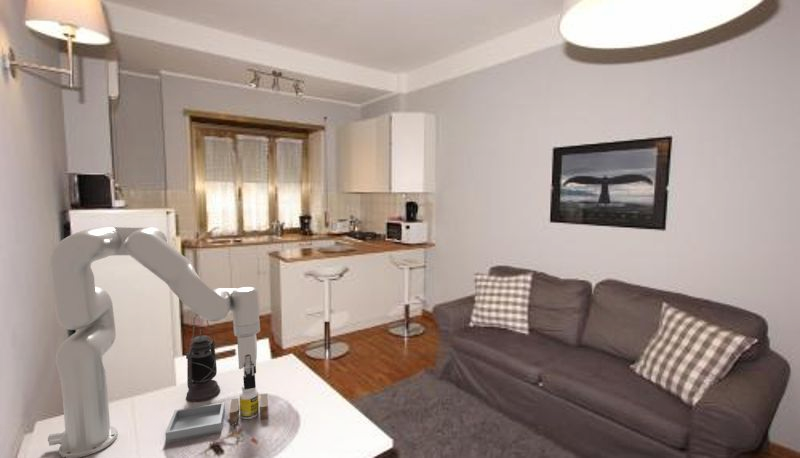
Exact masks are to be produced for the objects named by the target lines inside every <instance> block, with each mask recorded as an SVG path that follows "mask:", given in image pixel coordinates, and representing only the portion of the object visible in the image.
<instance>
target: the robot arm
mask: <svg viewBox="0 0 800 458" xmlns="http://www.w3.org/2000/svg"><path fill="white" fill-rule="evenodd" d="M167 239H168V238H167V236H166V235H165V233H164V232H163V231H162V230H160V229H158V228H155V227H147V226H146V227H142V226H141V227H140V226H139V227H137V226H136V227H135V226H133V227H127V226H123V227H122V226H100V227H95V228H89V229H84V230H81V231H77V232H75V233H73V234H71V235H68V236H66V237H65V238H63V239H62V240H60V241H59V242H58V243H57V244H56V245H55V246H54V247H53V249H52V251H51V254H50V259H49V268H50V274H51V279H52V280H51V282H52V292H53V300H54V308H55V317H56V320H57V322H58V324H59V325H60V326H61V327H62V328H64V329H65V330H69V331H70V330H71V331H75V332H74V333H73V334H71V335H70V336H68V337H67V338H66V339H64V341H63V342H62V343H61V344H60V345H59V346H58V348H57V350H56V354H55V360H54V361H55V365H56V366H55V367H56V368H57V372H58V375H59V379H60V386H61V395H62V396H61V397H62V407H63V421H64V431H63V432H57V433H50V434H49V435H48V436H47V442H48V446H55V445H60V447H59V449H58V453H59V454H58V455H59V456H60V455H61V458H64V457H66V458H82V457H86V456H89V455H92V454H96V453H98V452H100V451H102V450H103V449H105V448H107V447H109V446H110V445H111V444H112V443H113V442H114V441H116V440H117V437H118V434H119V433H118V429H117V428H116V427H114V426H111V422H110V419H111V418H110V408H109V407H110V406H109V405H110V404H109V395H108V394H109V393H108V382H107V381H108V380H107V372H106V368H105V365H104V362H103V357H104V355H105V354H106V353H107V352H108V351H109V350H110V349H111V348H112V347H113V345H114V343H115V341H116V334H117V333H116V323H115V315H114V307H113V301H112V298H111V296H110V294H109V293H108V292H107V291H106V290H105V289H103V288H101V287H98V286H95V285H96V283H95V275H94V272H93V269H92V267H91V266H92V264H93V263H94V262H96V261H99V260H102V259H104V258H107V257H110V256H113V257H115V256H130V257H131V258H132V259H134V260H135V261H136V262H137V263H139V264H140V265H141V266H142V267H144V268H146V269H147V270H148V271H149V272H151V273H153V275H155V276H156V277H157V278H159V279H160V280H161V281H162V282H164V283H165V284H166V285H167V286H168V287H169V288H170V290H171V291H172V293H174V294H175V295H176V297H177V298H178V299H179V300H180V301H181V302H182V303H183V304H184V305H185V306H187V307H188V308H189V309H190V310H192V312H193V313H195V314H196V315H197V314H198V315H197V316H199V317H201V318H203V319H205V320H206V321H207V320H208V322H218V321H222V320H223V319H225V318H226V317H227V316H228V314H229V312H230V311H231V312H232V324H233V335H234V337H237V354H238V355H237V356H238V357H237V358H238V369H239V370H241V369H243V376H242V377H243V384H244V389H245V390H246V389H251V388H255V387H256V388H257V385H255V384H256V374H257V366H256V365H257V357H258V356H257V355H258V353H257V352H258V344H257V342H258V341H257V334H259V333H260V332H261V321H260V306H259V304H260V303H259V293H258V292H259V291H258V289H256V287H253V286H242V287H238V288H228V287H227V288H226V287H225V288H224V287H223V288H222V287H217V288H214V289H212V288H210V287H209V286H208V284H206V283H205V282H204V281H203V280H202V279H201V278H200V276H199V275H198V274H197V272H196V269H195V267H194V265H193V263H192V262H191V260H190V259H188V258H187V257H186V256H184V255H183V254H181V253H180V252H179V251H178V250H177V249H175V248H174V247H173V246H171V245H170V244H169V243H168V240H167Z"/></svg>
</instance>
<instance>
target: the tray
mask: <svg viewBox="0 0 800 458" xmlns="http://www.w3.org/2000/svg"><path fill="white" fill-rule="evenodd" d="M225 403H226V402H225V401H222V402H217V403H211V404H204V405H198V406H192V407H187V408H181V409H175V410H174V411H173V414H172V416H171V418H170V421H169V423H168V426H167V429H166V430H165V433H164V435H165V444H169V443H173V442H174V443H175V442H180V441H185V440H190V439H195V438H200V437H205V436H206V437H207V436H212V435H215V434H220V433H222V430H223V425H224V424H223V423H224V420H223V419H225V414H226V404H225ZM224 413H225V414H224Z"/></svg>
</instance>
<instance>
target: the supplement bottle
mask: <svg viewBox="0 0 800 458" xmlns="http://www.w3.org/2000/svg"><path fill="white" fill-rule="evenodd" d="M255 385H256V383H255ZM256 388H257V385H256V387H255V388H251V389H246V390H245V389H244V383H242V385H241V392H240V393H239V416H240V418H241V419H243V420H250V419H254V418H256V417H257V416H258V415H259V413H260V406H259V391H258V389H256ZM253 417H254V418H253Z"/></svg>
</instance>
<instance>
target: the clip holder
mask: <svg viewBox="0 0 800 458" xmlns="http://www.w3.org/2000/svg"><path fill="white" fill-rule="evenodd" d="M268 400H269V399H268V393H262V394H260V398H259V414H260V420H266V419H267V420H268V419H269V406H268V402H269V401H268ZM228 415H229V426H232V425H231V424H235V423H237V424H238V421H237V420H238V419H239V418H240V417H239V416H240V401H239V398H232V399H231V401H230V407H229V413H228ZM235 425H236V424H235Z"/></svg>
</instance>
